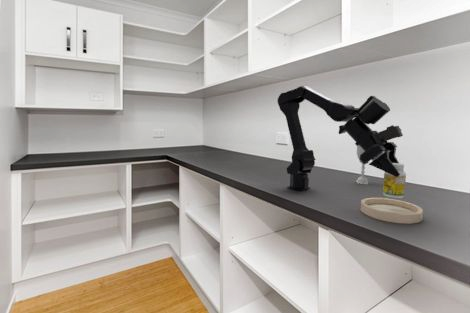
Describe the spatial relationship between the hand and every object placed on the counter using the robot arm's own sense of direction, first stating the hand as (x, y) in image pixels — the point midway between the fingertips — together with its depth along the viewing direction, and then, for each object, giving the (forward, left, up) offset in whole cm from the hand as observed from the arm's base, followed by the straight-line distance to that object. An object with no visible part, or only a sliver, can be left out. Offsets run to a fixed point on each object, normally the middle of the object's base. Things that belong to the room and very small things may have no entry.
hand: (400, 174), depth 72 cm
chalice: (-23, +30, -12) cm, 40 cm away
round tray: (-1, -3, -11) cm, 12 cm away
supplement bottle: (-1, 0, -7) cm, 7 cm away
